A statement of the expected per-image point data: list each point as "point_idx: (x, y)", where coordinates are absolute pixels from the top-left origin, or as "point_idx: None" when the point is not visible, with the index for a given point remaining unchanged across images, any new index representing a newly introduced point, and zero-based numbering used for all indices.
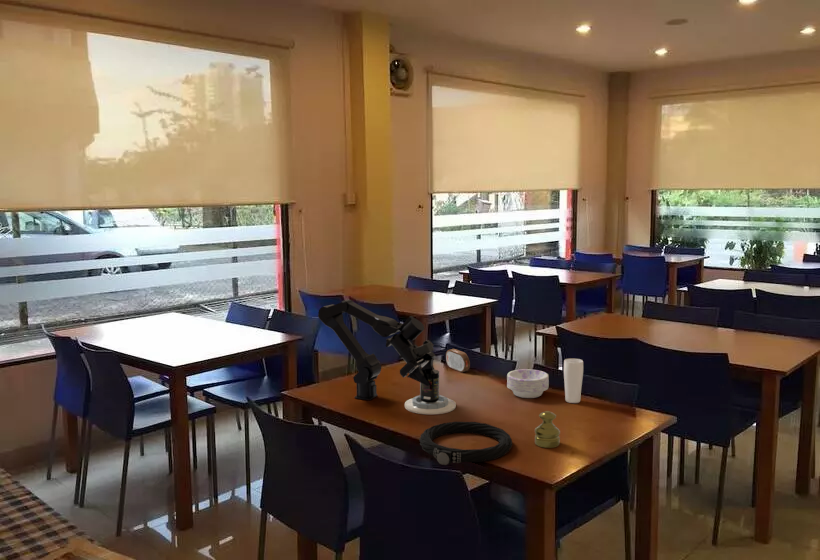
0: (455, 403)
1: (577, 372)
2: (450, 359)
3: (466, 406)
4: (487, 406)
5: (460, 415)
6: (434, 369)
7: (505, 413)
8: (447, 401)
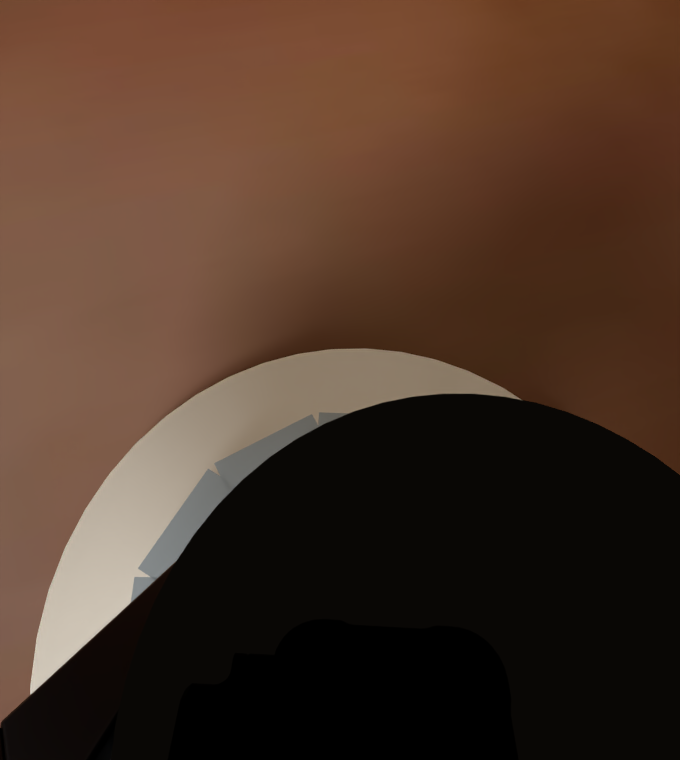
0: (257, 367)
1: None
2: None
3: (229, 285)
4: (174, 137)
5: (496, 265)
6: (129, 683)
7: (304, 9)
8: (343, 414)
